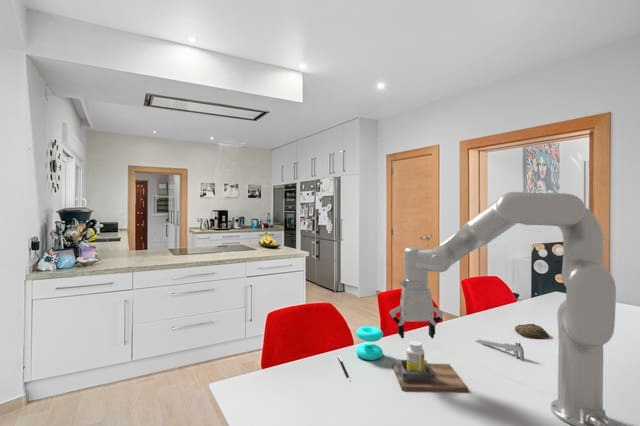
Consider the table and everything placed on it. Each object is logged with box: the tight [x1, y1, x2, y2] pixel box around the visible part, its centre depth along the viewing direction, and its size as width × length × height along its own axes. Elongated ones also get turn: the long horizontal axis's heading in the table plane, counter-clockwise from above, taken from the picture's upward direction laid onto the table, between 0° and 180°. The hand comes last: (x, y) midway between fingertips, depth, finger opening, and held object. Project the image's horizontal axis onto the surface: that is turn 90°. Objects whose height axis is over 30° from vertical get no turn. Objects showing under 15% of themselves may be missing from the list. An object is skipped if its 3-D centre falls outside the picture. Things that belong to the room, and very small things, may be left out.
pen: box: [337, 355, 351, 382], centre depth 117 cm, size 1×19×1 cm, turn 8°
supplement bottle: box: [406, 340, 425, 372], centre depth 111 cm, size 6×6×10 cm
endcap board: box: [391, 359, 469, 393], centre depth 111 cm, size 16×20×4 cm
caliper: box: [474, 338, 525, 361], centre depth 133 cm, size 20×1×6 cm, turn 26°
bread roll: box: [514, 323, 550, 340], centre depth 152 cm, size 13×12×5 cm
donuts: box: [355, 325, 384, 361], centre depth 128 cm, size 10×10×10 cm
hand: (416, 336), depth 111 cm, fingers open, 9 cm apart
